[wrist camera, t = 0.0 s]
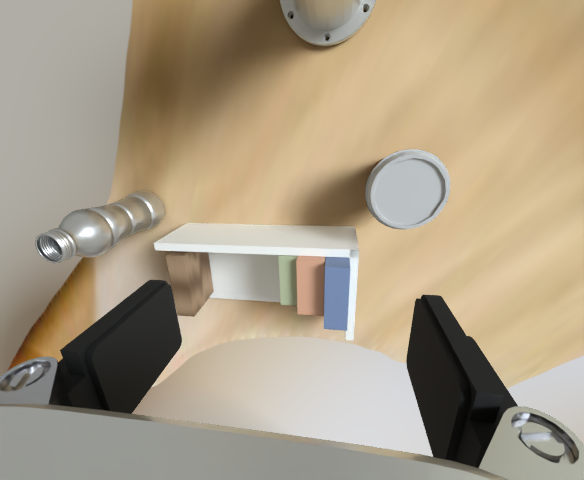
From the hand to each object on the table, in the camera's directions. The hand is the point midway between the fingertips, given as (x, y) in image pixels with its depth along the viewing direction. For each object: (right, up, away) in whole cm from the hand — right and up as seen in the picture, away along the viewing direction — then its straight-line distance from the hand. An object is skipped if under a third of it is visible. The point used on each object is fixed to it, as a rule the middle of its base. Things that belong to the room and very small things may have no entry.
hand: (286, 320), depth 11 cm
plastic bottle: (-25, +9, +41) cm, 49 cm away
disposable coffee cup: (+15, +13, +33) cm, 38 cm away
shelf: (-4, -1, +41) cm, 41 cm away
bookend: (-16, -2, +42) cm, 45 cm away
